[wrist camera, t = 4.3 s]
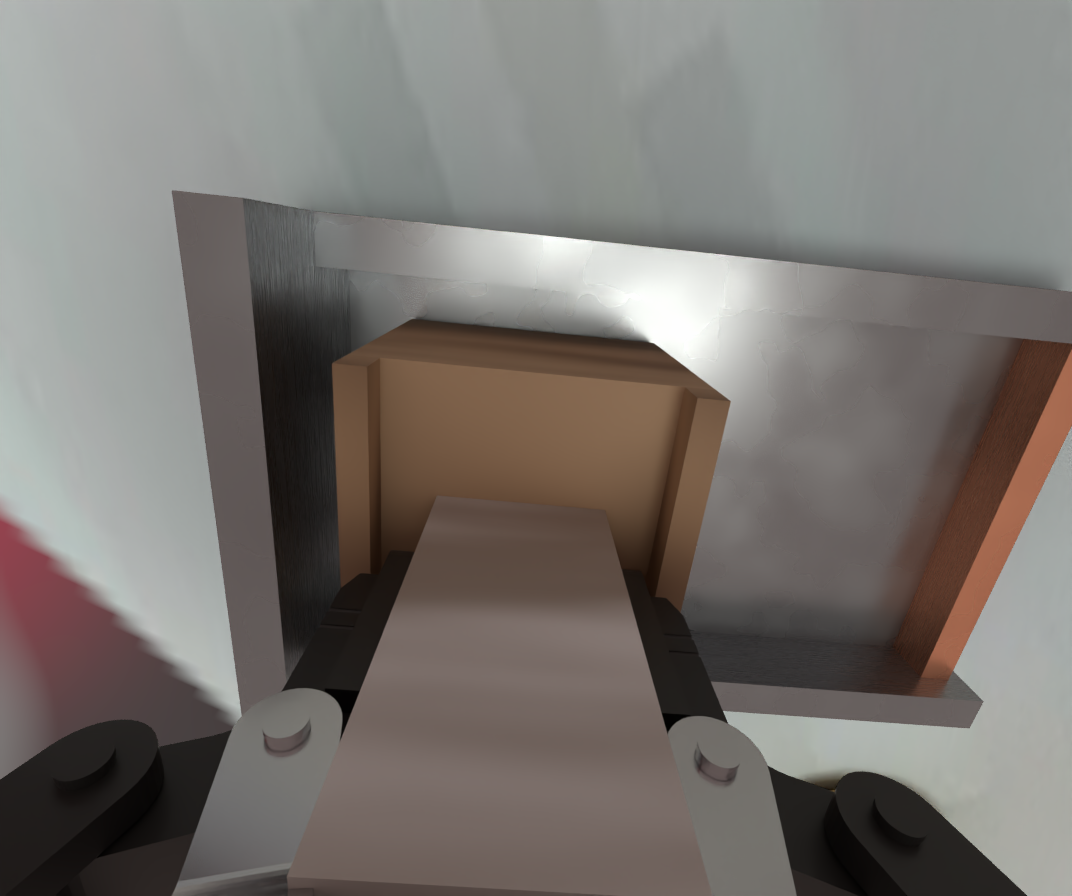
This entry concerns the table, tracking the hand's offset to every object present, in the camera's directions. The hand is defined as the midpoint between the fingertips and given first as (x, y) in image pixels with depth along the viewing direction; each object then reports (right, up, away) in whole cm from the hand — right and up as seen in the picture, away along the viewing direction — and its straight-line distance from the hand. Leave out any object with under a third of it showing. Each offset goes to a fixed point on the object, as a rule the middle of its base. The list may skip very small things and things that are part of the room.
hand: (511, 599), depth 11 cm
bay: (+4, +2, +7) cm, 9 cm away
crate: (0, +2, +6) cm, 6 cm away
